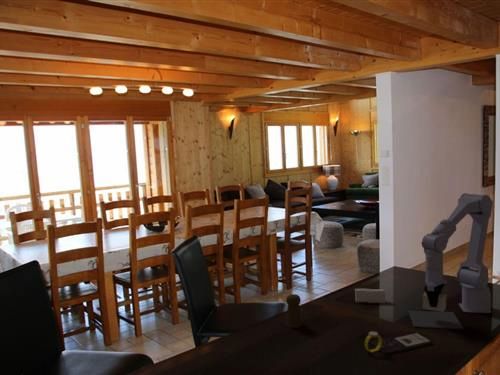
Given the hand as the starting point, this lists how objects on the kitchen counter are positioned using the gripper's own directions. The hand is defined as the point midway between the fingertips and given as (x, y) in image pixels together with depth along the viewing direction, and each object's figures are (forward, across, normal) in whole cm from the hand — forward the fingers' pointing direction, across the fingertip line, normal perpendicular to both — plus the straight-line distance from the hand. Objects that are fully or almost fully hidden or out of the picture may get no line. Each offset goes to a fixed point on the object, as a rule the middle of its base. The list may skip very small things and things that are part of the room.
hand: (434, 304), depth 156 cm
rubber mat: (+6, +1, 0) cm, 6 cm away
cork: (+7, -24, +44) cm, 51 cm away
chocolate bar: (+7, -23, +6) cm, 25 cm away
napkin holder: (+7, +10, +27) cm, 30 cm away
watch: (+7, -32, +12) cm, 35 cm away
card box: (+2, 0, 0) cm, 2 cm away
